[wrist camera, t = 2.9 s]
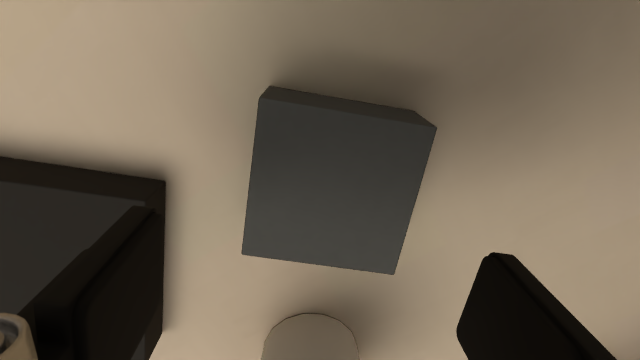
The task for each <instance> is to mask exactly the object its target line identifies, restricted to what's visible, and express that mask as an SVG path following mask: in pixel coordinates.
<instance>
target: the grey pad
mask: <svg viewBox="0 0 640 360" xmlns="http://www.w3.org/2000/svg"><path fill="white" fill-rule="evenodd" d="M436 130H437V127H435V126H434V125H432V124H431V123H430V122H428V121H427V120H426V119H424V118H423V117H421V116H420V115H419V114H417V113H416V112H415V111H411V110H405V109H399V108H393V107H388V106H382V105H376V104H370V103H365V102H359V101H353V100H347V99H342V98H336V97H330V96H324V95H319V94H313V93H307V92H301V91H295V90H290V89H284V88H278V87H272V86H269V87H268V88H267V89H266V90H265V92H264V93H263V94H262V95H261V96H260V98H259V103H258V111H257V120H256V129H255V138H254V147H253V156H252V165H251V174H250V182H249V191H248V200H247V209H246V218H245V227H244V236H243V244H242V255H249V256H256V257H264V258H271V259H279V260H286V261H294V262H301V263H308V264H316V265H323V266H331V267H338V268H346V269H353V270H361V271H368V272H376V273H383V274H390V275H394V273H395V270H396V266H397V263H398V259H399V256H400V253H401V249H402V246H403V242H404V239H405V236H406V232H407V229H408V225H409V222H410V219H411V215H412V212H413V208H414V205H415V202H416V198H417V195H418V191H419V188H420V185H421V181H422V178H423V174H424V171H425V168H426V164H427V161H428V157H429V154H430V151H431V147H432V144H433V140H434V137H435V133H436Z"/></svg>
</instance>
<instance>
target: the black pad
mask: <svg viewBox="0 0 640 360" xmlns="http://www.w3.org/2000/svg"><path fill="white" fill-rule="evenodd" d="M133 205H136V206H144V207H151V208H156V209H157V214H162V215H163V217H164V224H165V181H161V180H154V179H148V178H141V177H134V176H127V175H121V174H114V173H107V172H101V171H94V170H87V169H80V168H74V167H67V166H60V165H53V164H47V163H40V162H33V161H26V160H20V159H13V158H6V157H0V313H9V314H15V315H16V314H18V313H19V312H20V311H21V310H22V309H23V308H24V307H25V306H26V305H27V304H28V303H29V302H30V301H31V300H32V299H33V298H34V297H35V296H36V295H37V294H38V293H39V292H40V291H41V290H42V289H43V288H44V287H46V286H47V285H48V284H49V283H50V282H51V281H52V280H53V279H54V278H55V277H56V276H57V275H58V274H59V273H60V272H61V271H62V270H63V269H64V268H65V267H66V266H67V265H68V264H69V263H70V262H71V261H73V260H74V259H75V258H76V257H77V256H78V255H79V254H80V253H81V252H82V251H84V250H85V249H89V248H90V247H91V246H92V245H93V244H94V243H95V242H96V241H97V240H98V239H99V238H100V237H101V236H102V235H103V234H104V233H105V232H106V231H107V230H108V229H109V228H110V227H111V226H112V225H113V224H114V223H115V222H116V221H117V220H118V219H119V218H120V217H121V216H122V215H123V214H124V213H125V212H126V211H127V210H128V209H129V208H130V207H132V206H133ZM163 266H164V228H163V262H162V295H161V301H160V305H159V307H158V310H157V311H156V313H155V315H154V317H153V319H152V321H151V323H150V325H149V326H148V328H147V330H146V332H145V334H144V336H143V338H142V340H141V341H140V343H139V345H138V347H137V349H136V351H135V353H134V355H133V356H132V358H131V360H149V358H150V356H151V354H152V352H153V350H154V348H155V346H156V344H157V342H158V340H159V338H160V336H161V334H162V307H163Z"/></svg>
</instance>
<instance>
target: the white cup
mask: <svg viewBox="0 0 640 360" xmlns="http://www.w3.org/2000/svg"><path fill="white" fill-rule="evenodd" d="M261 360H360V359H359V354H358V349H357V344H356V342H355V339H354V337H353V334H352V332H351V331H350V330H349V329H348V328H347V327H346V326H345V325H344V324H343V323H341V322H340V321H339V320H336V319H333V318H331V317H328V316H326V315H323V314H301V315H298V316H294V317H291V318H287V319H285V320H284V321H282V322H281V323H280V324H278V325H277V326H275V327H274V328H273V329H272V330H271V332H270V333H269V335H268V337H267V339H266V340H265V343H264V348H263V353H262V358H261Z"/></svg>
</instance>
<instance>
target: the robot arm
mask: <svg viewBox="0 0 640 360" xmlns="http://www.w3.org/2000/svg"><path fill="white" fill-rule="evenodd" d="M163 228H164V217H163V215H162V214H157V209H156V208H151V207H144V206H136V205H133V206H132V207H130V208H129V209H128V210H127V211H126V212H125V213H124V214H123V215H122V216H121V217H120V218H119V219H118V220H117V221H116V222H115V223H114V224H113V225H112V226H111V227H110V228H109V229H108V230H107V231H106V232H105V233H104V234H103V235H102V236H101V237H100V238H99V239H98V240H97V241H96V242H95V243H94V244H93V245H92V246H91V247H90V248H89V249H85V250H84V251H82V252H81V253H80V254H79V255H78V256H77V257H76V258H75V259H74V260H73V261H71V262H70V263H69V264H68V265H67V266H66V267H65V268H64V269H63V270H62V271H61V272H60V273H59V274H58V275H57V276H56V277H55V278H54V279H53V280H52V281H51V282H50V283H49V284H48V285H47V286H46V287H44V288H43V289H42V290H41V291H40V292H39V293H38V294H37V295H36V296H35V297H34V298H33V299H32V300H31V301H30V302H29V303H28V304H27V305H26V306H25V307H24V308H23V309H22V310H21V311H20V312H19V313H18V314H16V315H15V314H9V313H0V360H131V358H132V356H133V355H134V353H135V351H136V349H137V347H138V345H139V343H140V341H141V340H142V338H143V336H144V334H145V332H146V330H147V328H148V326H149V325H150V323H151V321H152V319H153V317H154V315H155V313H156V311H157V310H158V307H159V305H160V301H161V295H162V262H163ZM457 338H458V341H459V342H460V344H461V346H462V348H463V350H464V352H465V354H466V356H467V358H468V360H617V359H616V358H615V357H614V356H613V355H612V354H611V353H610V352H609V351H608V350H607V349H606V348H605V347H604V346H603V345H602V344H601V343H600V342H599V341H598V340H597V339H596V338H595V337H594V336H593V335H592V334H591V333H590V332H589V331H588V330H587V329H586V328H585V327H584V326H583V325H582V324H581V323H580V322H579V321H578V320H577V319H576V318H575V317H574V316H573V315H572V314H571V313H570V312H569V311H568V310H567V309H566V308H565V307H564V306H563V305H562V304H561V303H560V302H559V301H558V300H557V299H556V298H555V297H554V296H553V295H552V294H551V293H550V292H549V291H548V290H547V289H546V288H545V287H544V286H543V285H542V284H541V283H540V282H539V281H538V280H537V278H536V277H535V276H534V275H533V274H532V273H531V272H530V271H529V270H528V269H527V268H526V267H525V266H524V265H523V264H522V263H521V262H520V261H519V260H518V259H517V258H516V257H515V256H513V255H510V254H503V253H495V252H493V253H490V254H489V255H488V256H486V257H484V258H483V260H482V262H481V265H480V267H479V270H478V273H477V275H476V278H475V281H474V283H473V286H472V289H471V291H470V294H469V296H468V299H467V302H466V304H465V307H464V310H463V312H462V315H461V318H460V320H459V323H458V325H457Z"/></svg>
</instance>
